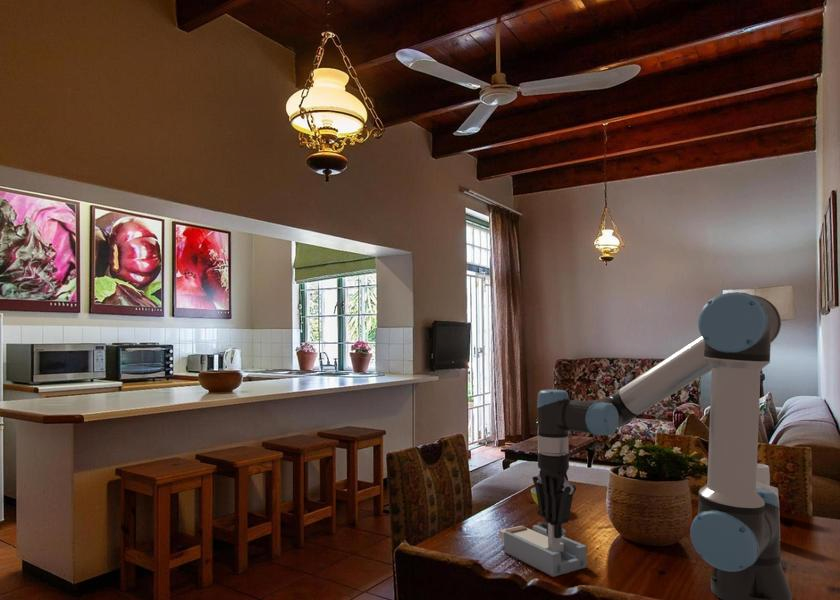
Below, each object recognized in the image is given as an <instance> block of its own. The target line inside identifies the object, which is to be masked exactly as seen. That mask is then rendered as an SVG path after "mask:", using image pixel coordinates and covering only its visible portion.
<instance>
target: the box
mask: <svg viewBox="0 0 840 600" xmlns="http://www.w3.org/2000/svg"><path fill="white" fill-rule="evenodd" d="M532 530H533V531H536V532H538V533H540V534H543V535H545V536H547V537H548V535H547V529H545V528H542V527H540V526H538V524H534V525H532ZM560 542H561V543H564V551H562V552H558V551H556V552H552V551H549V550H547V549H545V548H543V547H541V546H539V545H536V544H534V543H532V542H530V541H528V540H526V539H523V538H521V537H519V536H517V535H515V534H513V533H510V532H508V531H506V532H504V539H503V548H504V550H503V552H504V553H506V554H508V555H510V556H512V557H513V558H516V559H518V560H520V561H522V562H524V563H525V564H527V565H530V567H531V566H532V567H533V568H534V569H536V570H539V571H541V572H543V573H545V574H546V575H549V576H550V577H552V578H553V577H557V576H561V575H564V574H569V573H571V572H575V571H578V570H583V569H585V568H587V567H588V558H587V557H588V555H587V554H588V553H587V552H588V551H587V545H585V544H583V543H581V542H579V541H576V540H573V539H571V538H568V537H567V536H565V537H564V536H562V537H561V538H560Z"/></svg>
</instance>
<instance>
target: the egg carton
mask: <svg viewBox="0 0 840 600" xmlns="http://www.w3.org/2000/svg"><path fill="white" fill-rule="evenodd" d="M537 526H540V527H542V528H545V529H547V525H546V522H545V523H544V522H541V521H538V522H537ZM566 535H567V531H566V529H565V528H563V526H562V536H564V537H566Z"/></svg>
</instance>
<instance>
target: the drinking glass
mask: <svg viewBox="0 0 840 600" xmlns="http://www.w3.org/2000/svg"><path fill="white" fill-rule="evenodd" d="M770 477H771V473H770V465H767V464H763V463H758V462H757V479H756V482H758V483H762V484H765V485H769V486H771V485H770V483H771V482H770V481H771V478H770ZM761 489H765V490H768V489H766V488H761ZM768 491H770V490H768Z"/></svg>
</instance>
